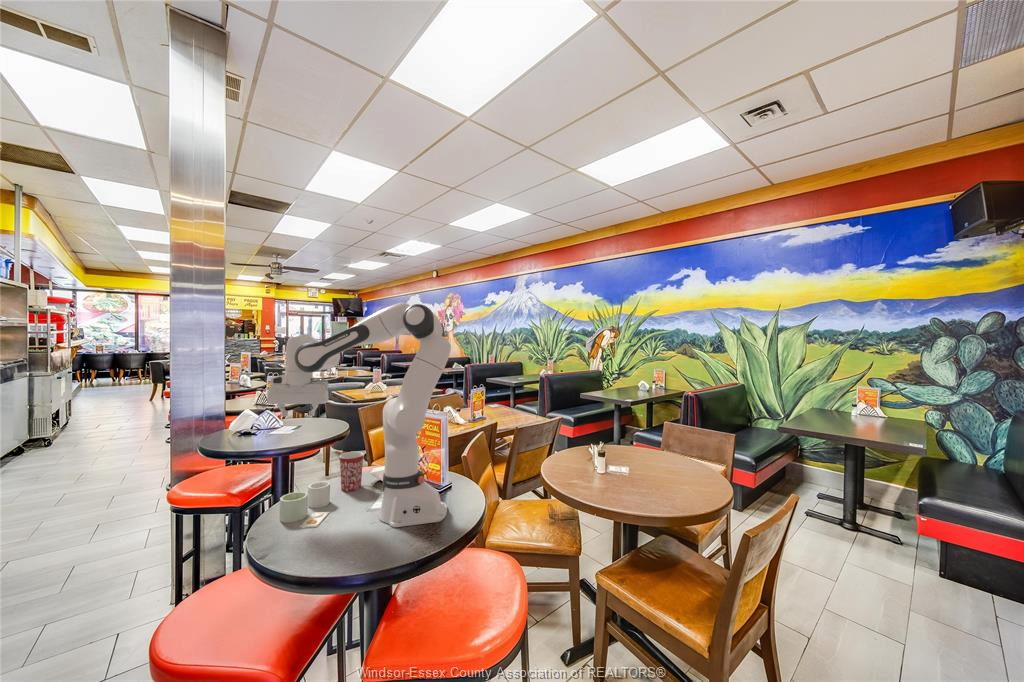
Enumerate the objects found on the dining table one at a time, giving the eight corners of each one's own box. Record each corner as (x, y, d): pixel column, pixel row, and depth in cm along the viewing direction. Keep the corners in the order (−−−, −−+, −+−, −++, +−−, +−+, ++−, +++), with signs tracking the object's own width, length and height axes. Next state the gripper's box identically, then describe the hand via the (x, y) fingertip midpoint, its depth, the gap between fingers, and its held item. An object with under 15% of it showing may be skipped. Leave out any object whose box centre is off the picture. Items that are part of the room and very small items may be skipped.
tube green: (311, 511, 127) (311, 491, 127) (300, 522, 119) (300, 500, 119) (287, 512, 126) (287, 492, 126) (274, 523, 118) (275, 501, 118)
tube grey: (332, 499, 136) (332, 481, 137) (324, 507, 130) (325, 488, 130) (312, 500, 136) (313, 481, 136) (304, 508, 129) (304, 488, 129)
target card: (329, 513, 125) (329, 511, 125) (316, 527, 115) (316, 525, 115) (313, 513, 125) (313, 512, 125) (299, 528, 115) (299, 526, 115)
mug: (356, 493, 143) (357, 458, 143) (334, 492, 143) (334, 457, 144) (371, 481, 155) (371, 449, 156) (350, 480, 156) (350, 448, 156)
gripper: (331, 377, 140) (331, 414, 140) (274, 377, 138) (273, 414, 137) (325, 379, 134) (324, 417, 133) (265, 379, 132) (264, 417, 131)
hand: (298, 416), depth 135 cm, fingers open, 8 cm apart
